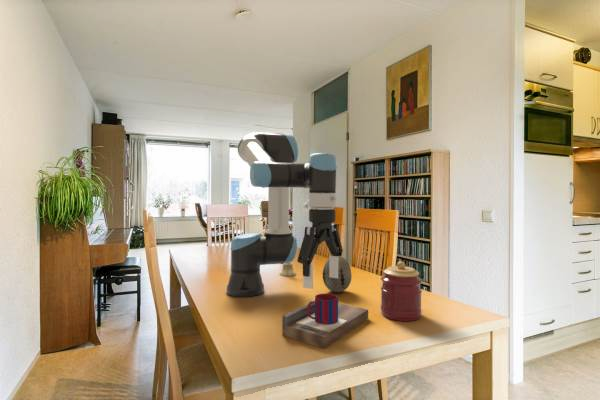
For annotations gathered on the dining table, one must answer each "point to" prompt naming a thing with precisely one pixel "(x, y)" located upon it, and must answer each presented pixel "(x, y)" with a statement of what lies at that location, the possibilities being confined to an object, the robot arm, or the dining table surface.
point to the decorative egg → (343, 276)
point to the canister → (401, 293)
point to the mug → (325, 308)
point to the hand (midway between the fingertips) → (321, 282)
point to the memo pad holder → (321, 325)
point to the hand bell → (287, 270)
